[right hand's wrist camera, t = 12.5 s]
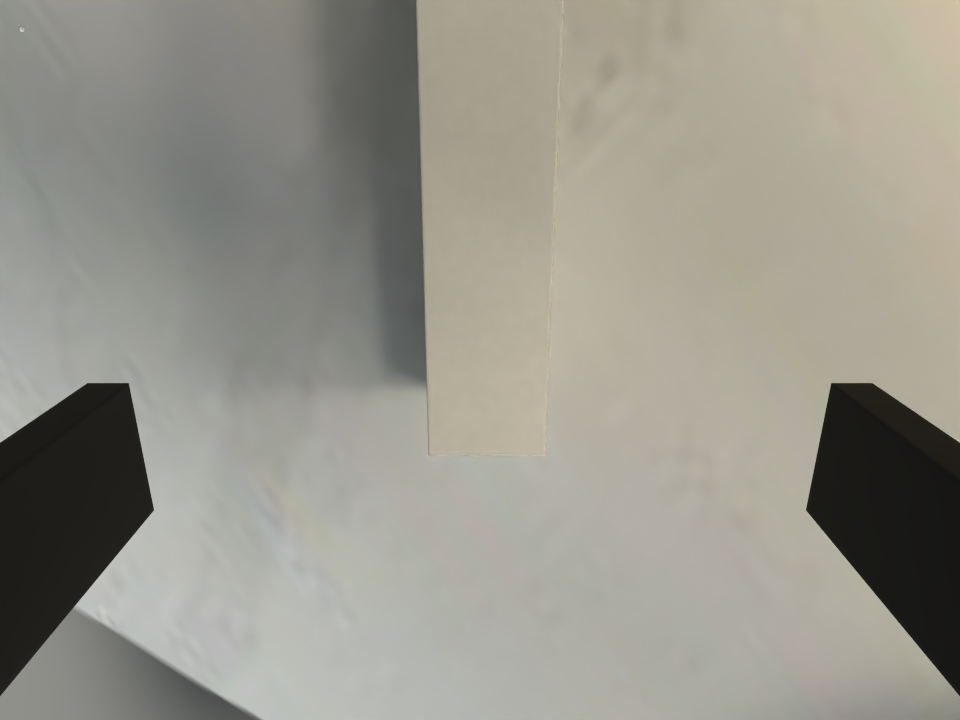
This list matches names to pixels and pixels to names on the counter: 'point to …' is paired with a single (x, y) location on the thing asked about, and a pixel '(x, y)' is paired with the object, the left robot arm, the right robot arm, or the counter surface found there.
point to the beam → (488, 219)
